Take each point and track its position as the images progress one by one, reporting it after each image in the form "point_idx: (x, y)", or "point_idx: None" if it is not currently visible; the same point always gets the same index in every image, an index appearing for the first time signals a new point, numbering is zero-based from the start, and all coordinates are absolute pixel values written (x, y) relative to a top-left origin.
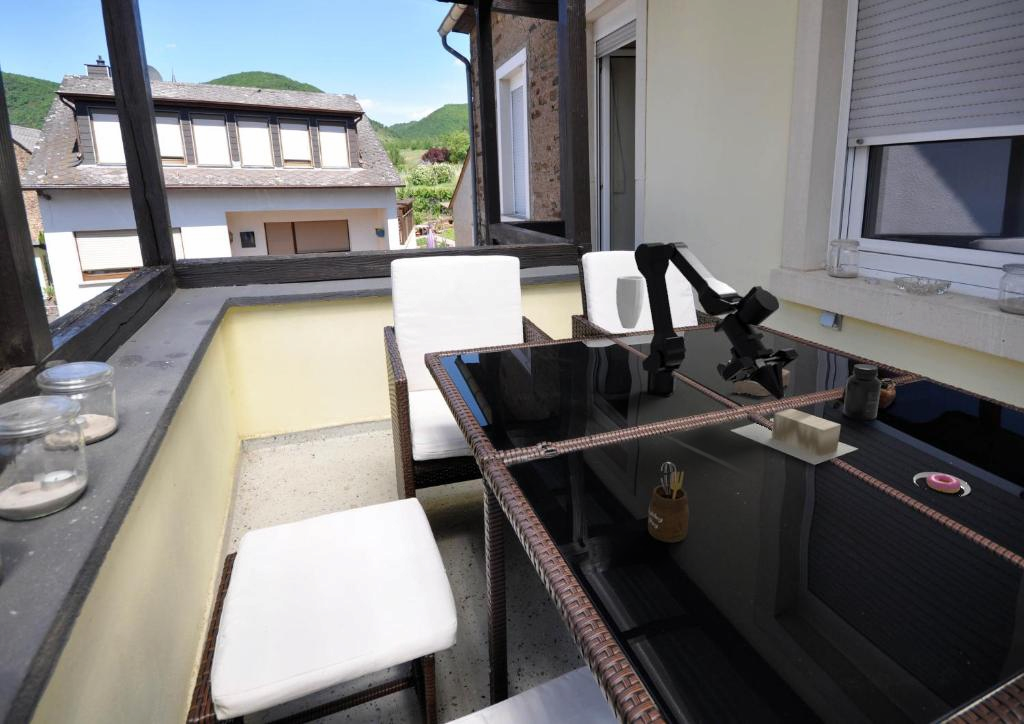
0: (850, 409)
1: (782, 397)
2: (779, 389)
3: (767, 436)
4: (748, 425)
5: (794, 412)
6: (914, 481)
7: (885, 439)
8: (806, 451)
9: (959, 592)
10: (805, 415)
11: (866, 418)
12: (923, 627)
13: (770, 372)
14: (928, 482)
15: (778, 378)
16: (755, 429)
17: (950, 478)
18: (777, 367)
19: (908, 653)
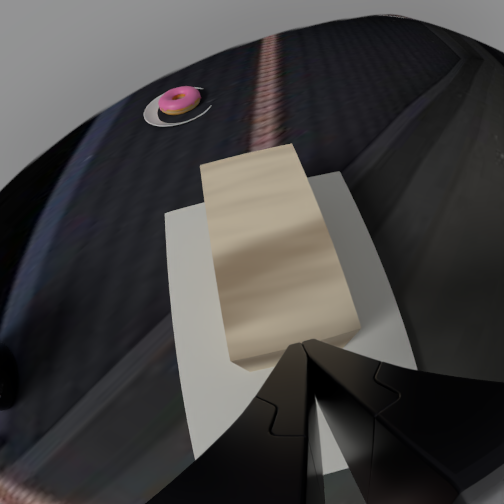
0: (2, 377)
1: (302, 343)
2: (325, 351)
3: None
4: (344, 466)
5: (260, 307)
6: (203, 113)
7: (62, 256)
8: None
9: (355, 29)
10: (241, 262)
11: (6, 347)
12: (402, 29)
13: (458, 389)
14: (195, 102)
15: (309, 401)
16: None
17: (168, 95)
18: (289, 484)
19: (421, 29)
